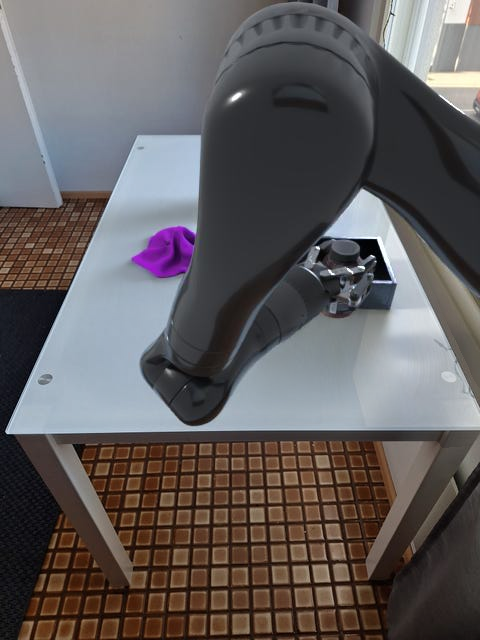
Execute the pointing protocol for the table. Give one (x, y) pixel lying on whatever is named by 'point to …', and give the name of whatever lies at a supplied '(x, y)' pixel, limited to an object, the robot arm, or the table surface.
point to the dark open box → (383, 272)
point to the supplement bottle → (341, 256)
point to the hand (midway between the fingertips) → (352, 253)
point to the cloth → (168, 252)
